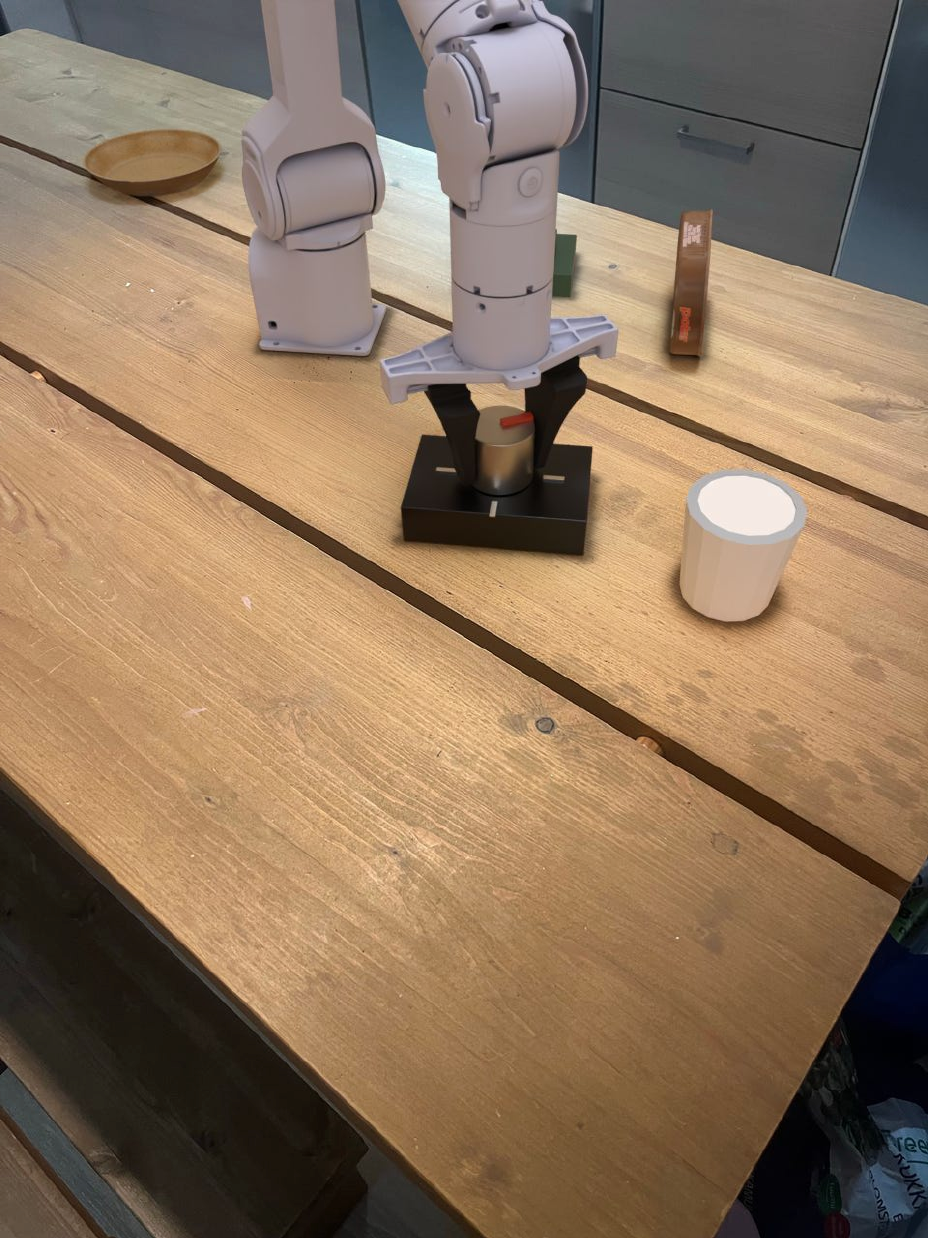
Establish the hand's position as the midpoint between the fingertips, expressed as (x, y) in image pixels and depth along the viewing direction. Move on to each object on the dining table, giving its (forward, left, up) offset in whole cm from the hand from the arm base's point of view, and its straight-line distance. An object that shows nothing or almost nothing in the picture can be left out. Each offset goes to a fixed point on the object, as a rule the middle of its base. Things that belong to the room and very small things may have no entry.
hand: (499, 468), depth 63 cm
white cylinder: (+15, -6, -4) cm, 17 cm away
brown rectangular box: (+13, +26, -4) cm, 29 cm away
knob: (0, 0, -1) cm, 1 cm away
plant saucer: (-44, +52, -4) cm, 68 cm away
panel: (0, 0, -4) cm, 4 cm away
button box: (-2, +34, -4) cm, 34 cm away
